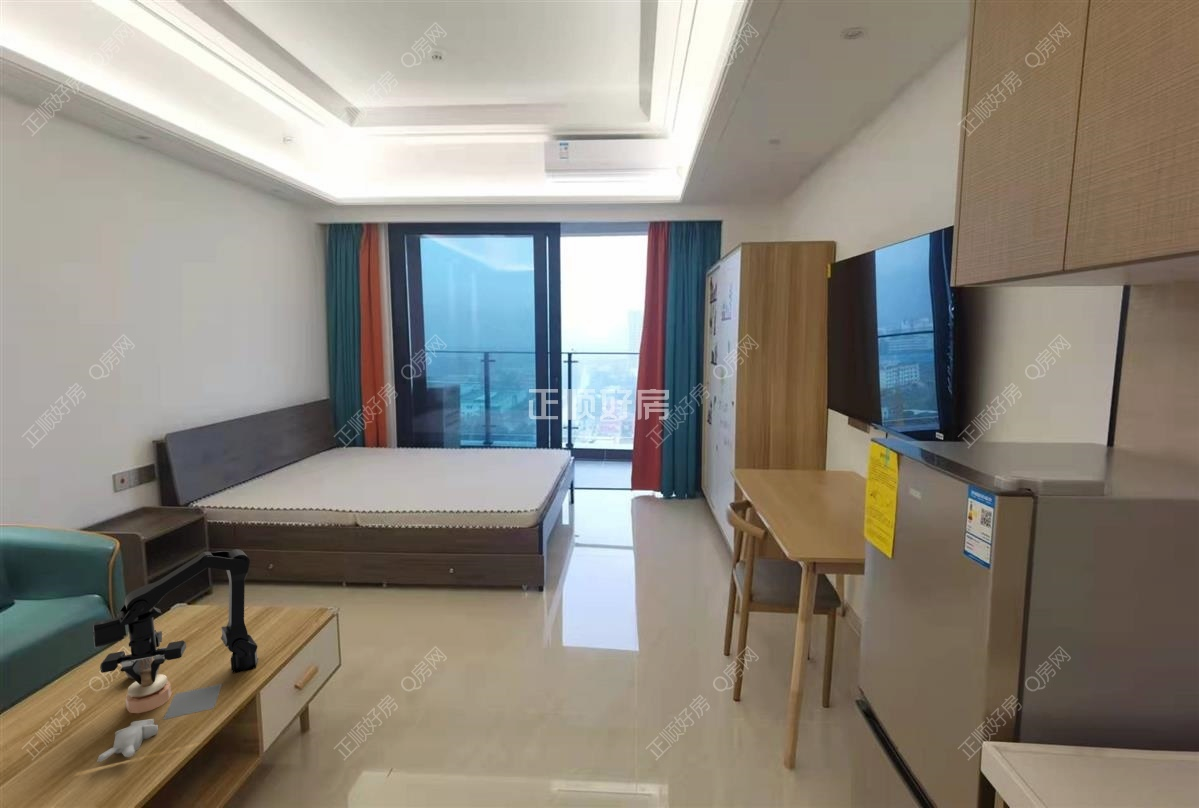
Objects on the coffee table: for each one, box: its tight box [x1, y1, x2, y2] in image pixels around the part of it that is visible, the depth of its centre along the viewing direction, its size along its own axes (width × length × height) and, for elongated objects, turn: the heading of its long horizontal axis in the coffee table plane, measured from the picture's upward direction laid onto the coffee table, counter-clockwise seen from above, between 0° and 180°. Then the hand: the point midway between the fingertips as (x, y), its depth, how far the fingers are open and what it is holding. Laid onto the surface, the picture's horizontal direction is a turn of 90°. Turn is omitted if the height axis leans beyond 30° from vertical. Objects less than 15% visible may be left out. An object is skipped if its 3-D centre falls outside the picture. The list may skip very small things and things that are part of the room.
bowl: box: [125, 679, 173, 714], centre depth 163 cm, size 10×10×4 cm
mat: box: [162, 683, 223, 721], centre depth 163 cm, size 12×12×1 cm
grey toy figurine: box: [96, 718, 159, 763], centre depth 146 cm, size 10×5×15 cm
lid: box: [127, 668, 168, 697], centre depth 162 cm, size 9×9×5 cm
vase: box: [124, 657, 154, 680], centre depth 175 cm, size 7×7×9 cm
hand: (147, 682), depth 162 cm, fingers closed on lid, 3 cm apart
